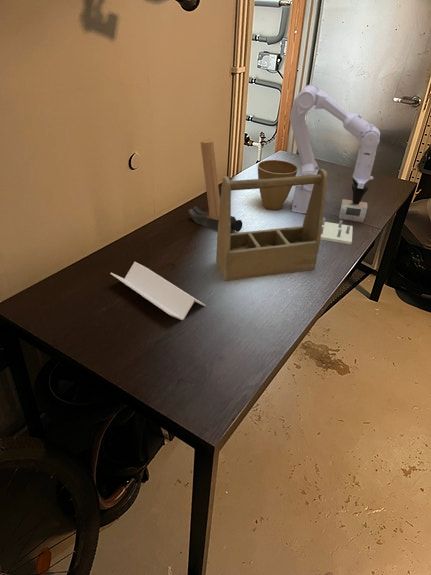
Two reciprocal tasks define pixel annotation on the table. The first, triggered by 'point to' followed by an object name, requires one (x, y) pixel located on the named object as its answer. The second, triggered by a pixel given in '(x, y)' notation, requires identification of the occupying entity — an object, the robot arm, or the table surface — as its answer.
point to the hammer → (211, 192)
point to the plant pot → (275, 169)
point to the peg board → (336, 232)
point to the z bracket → (158, 291)
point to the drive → (353, 211)
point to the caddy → (270, 233)
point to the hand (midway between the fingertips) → (355, 199)
